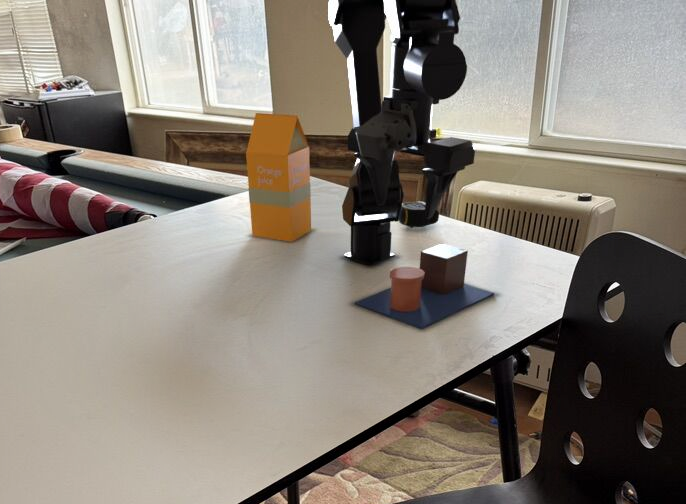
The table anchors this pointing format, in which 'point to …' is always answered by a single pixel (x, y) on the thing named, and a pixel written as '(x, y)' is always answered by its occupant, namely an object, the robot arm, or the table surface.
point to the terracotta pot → (406, 288)
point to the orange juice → (279, 178)
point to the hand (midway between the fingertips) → (404, 211)
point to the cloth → (427, 305)
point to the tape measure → (416, 215)
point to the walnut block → (443, 268)
